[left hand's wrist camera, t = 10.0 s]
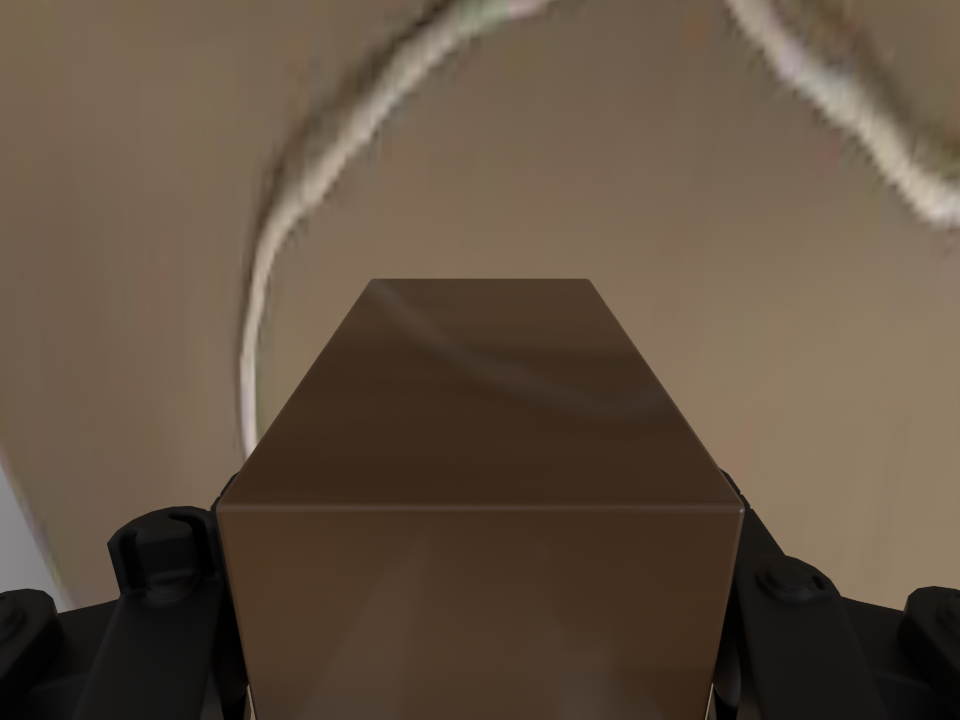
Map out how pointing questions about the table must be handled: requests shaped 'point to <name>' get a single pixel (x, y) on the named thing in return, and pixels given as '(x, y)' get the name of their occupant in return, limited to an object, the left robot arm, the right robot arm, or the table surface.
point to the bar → (480, 519)
